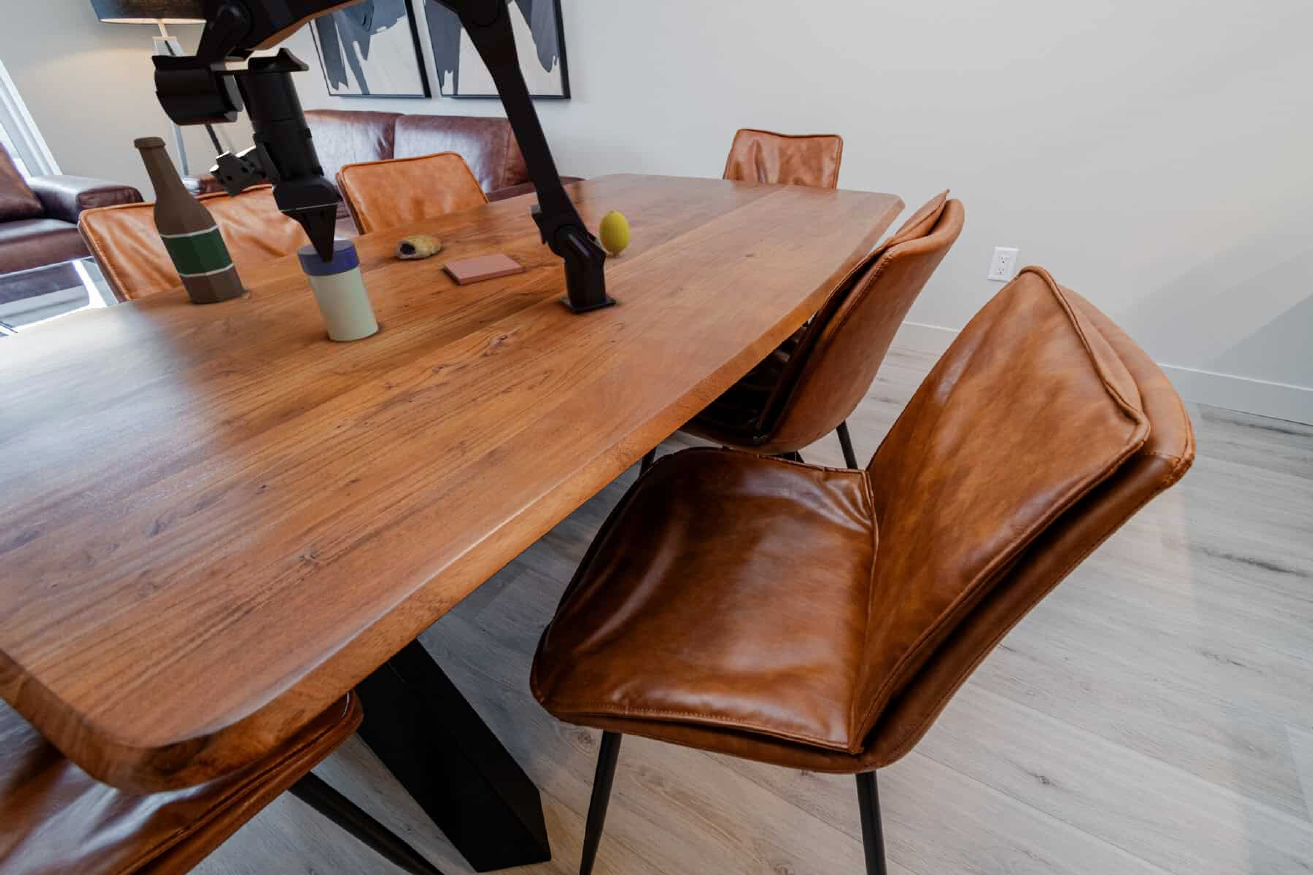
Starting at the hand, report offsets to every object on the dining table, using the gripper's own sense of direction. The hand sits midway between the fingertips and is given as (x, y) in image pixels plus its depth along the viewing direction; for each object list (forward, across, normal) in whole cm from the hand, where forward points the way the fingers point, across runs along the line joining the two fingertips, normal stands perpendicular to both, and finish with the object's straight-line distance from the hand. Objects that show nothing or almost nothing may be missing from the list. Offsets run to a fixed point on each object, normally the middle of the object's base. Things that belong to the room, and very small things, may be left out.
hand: (324, 254), depth 78 cm
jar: (+11, 0, 0) cm, 11 cm away
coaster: (+11, -17, +24) cm, 31 cm away
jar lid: (-1, 0, 0) cm, 1 cm away
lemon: (+11, -10, +47) cm, 49 cm away
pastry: (+11, -36, +17) cm, 41 cm away
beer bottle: (+11, -32, -17) cm, 38 cm away
